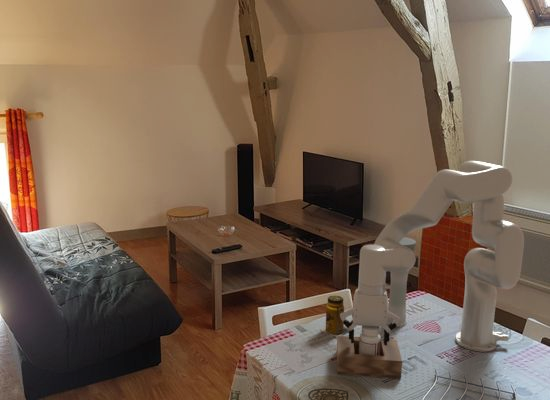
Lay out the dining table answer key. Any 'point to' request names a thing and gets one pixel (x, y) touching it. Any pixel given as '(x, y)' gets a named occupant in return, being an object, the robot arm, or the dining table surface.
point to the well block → (368, 359)
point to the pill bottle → (370, 341)
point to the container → (399, 289)
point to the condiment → (335, 317)
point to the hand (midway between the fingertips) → (368, 342)
